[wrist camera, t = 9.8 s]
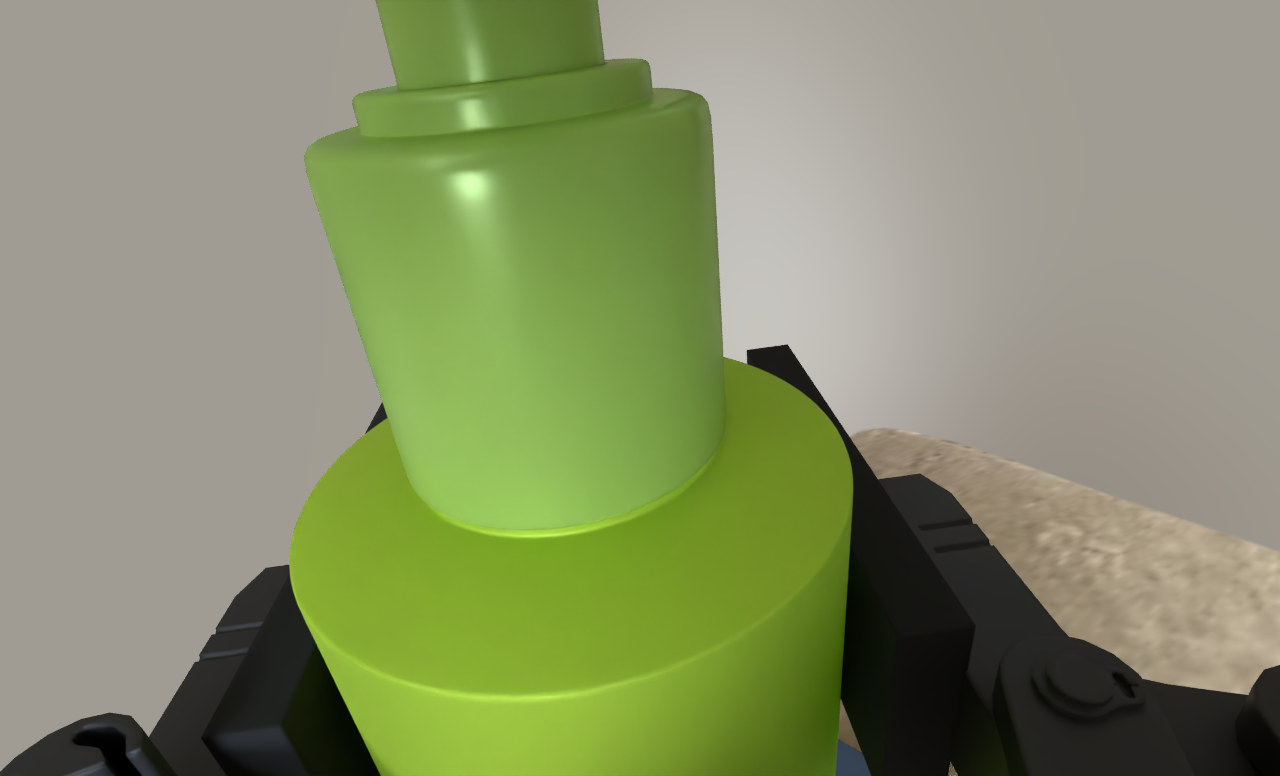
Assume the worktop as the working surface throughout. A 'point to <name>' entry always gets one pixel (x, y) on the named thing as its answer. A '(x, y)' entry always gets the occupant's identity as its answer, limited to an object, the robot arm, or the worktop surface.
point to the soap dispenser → (561, 431)
